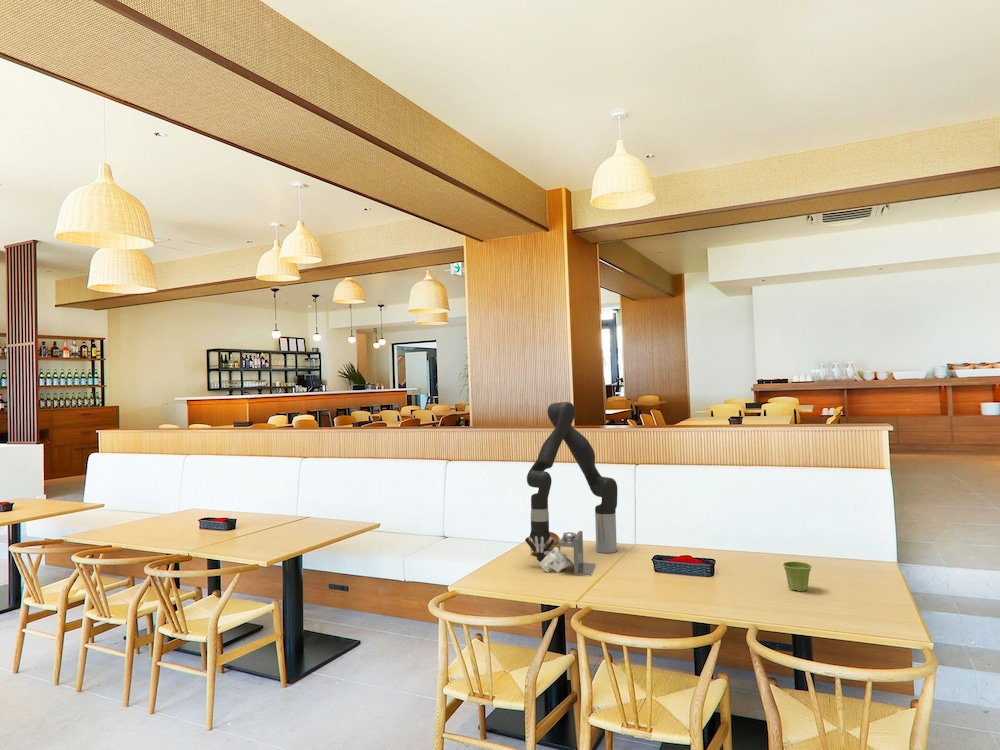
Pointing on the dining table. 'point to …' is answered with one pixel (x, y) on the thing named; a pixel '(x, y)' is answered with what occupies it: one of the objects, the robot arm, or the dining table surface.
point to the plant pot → (797, 575)
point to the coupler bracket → (577, 552)
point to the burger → (555, 544)
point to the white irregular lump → (555, 561)
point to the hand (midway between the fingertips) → (540, 561)
